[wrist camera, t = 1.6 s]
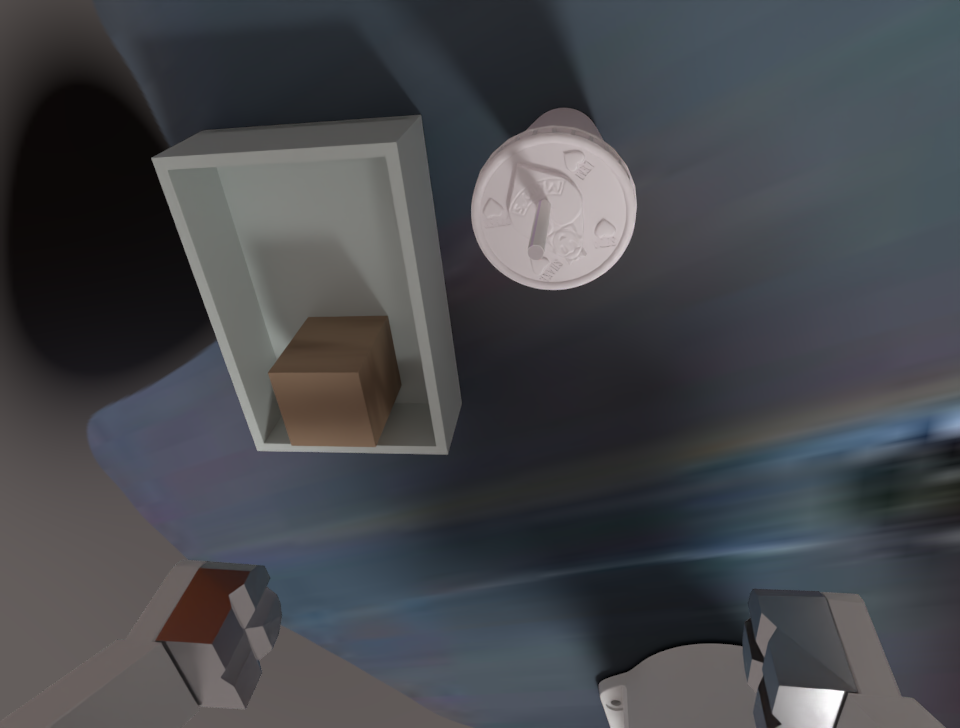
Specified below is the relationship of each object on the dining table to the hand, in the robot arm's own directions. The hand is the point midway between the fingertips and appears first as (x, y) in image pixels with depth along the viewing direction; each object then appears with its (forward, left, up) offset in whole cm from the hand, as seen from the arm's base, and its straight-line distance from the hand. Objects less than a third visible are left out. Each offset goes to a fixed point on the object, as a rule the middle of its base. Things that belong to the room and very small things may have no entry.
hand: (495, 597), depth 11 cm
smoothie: (0, 0, -27) cm, 27 cm away
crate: (-7, +13, -27) cm, 31 cm away
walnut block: (-12, +13, -26) cm, 31 cm away
